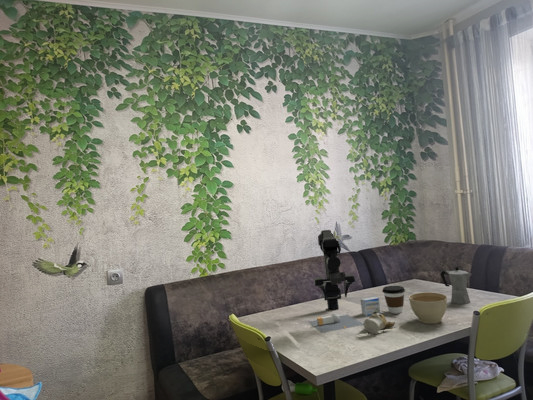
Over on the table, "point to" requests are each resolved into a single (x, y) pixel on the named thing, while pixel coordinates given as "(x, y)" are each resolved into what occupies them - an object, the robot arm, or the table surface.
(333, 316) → the white and tan block
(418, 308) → the planter bowl
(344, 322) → the dial board
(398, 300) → the coffee cup
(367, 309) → the medicine box
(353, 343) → the table surface
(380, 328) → the ceramic sculpture
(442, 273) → the coffeepot
